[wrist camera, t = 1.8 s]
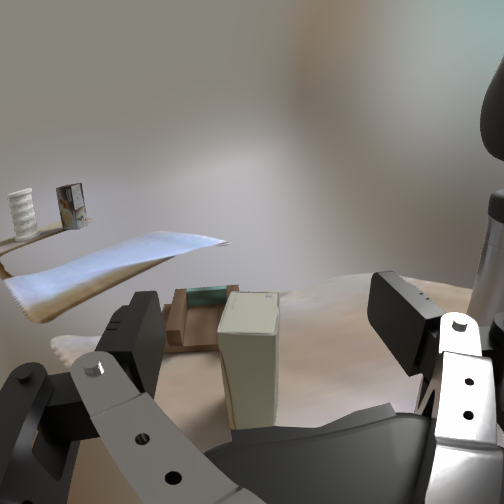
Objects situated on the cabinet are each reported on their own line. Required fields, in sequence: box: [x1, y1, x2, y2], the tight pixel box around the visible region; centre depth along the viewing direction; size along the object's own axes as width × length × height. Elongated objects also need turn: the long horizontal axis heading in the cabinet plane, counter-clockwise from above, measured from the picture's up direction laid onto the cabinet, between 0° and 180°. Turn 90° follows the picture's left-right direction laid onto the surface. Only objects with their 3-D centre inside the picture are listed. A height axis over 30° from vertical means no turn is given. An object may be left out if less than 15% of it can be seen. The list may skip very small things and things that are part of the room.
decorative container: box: [7, 188, 41, 242], centre depth 92 cm, size 12×12×18 cm
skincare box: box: [217, 291, 280, 430], centre depth 26 cm, size 6×4×12 cm
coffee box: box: [56, 183, 88, 230], centre depth 99 cm, size 9×6×16 cm
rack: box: [162, 285, 239, 353], centre depth 42 cm, size 14×11×4 cm
